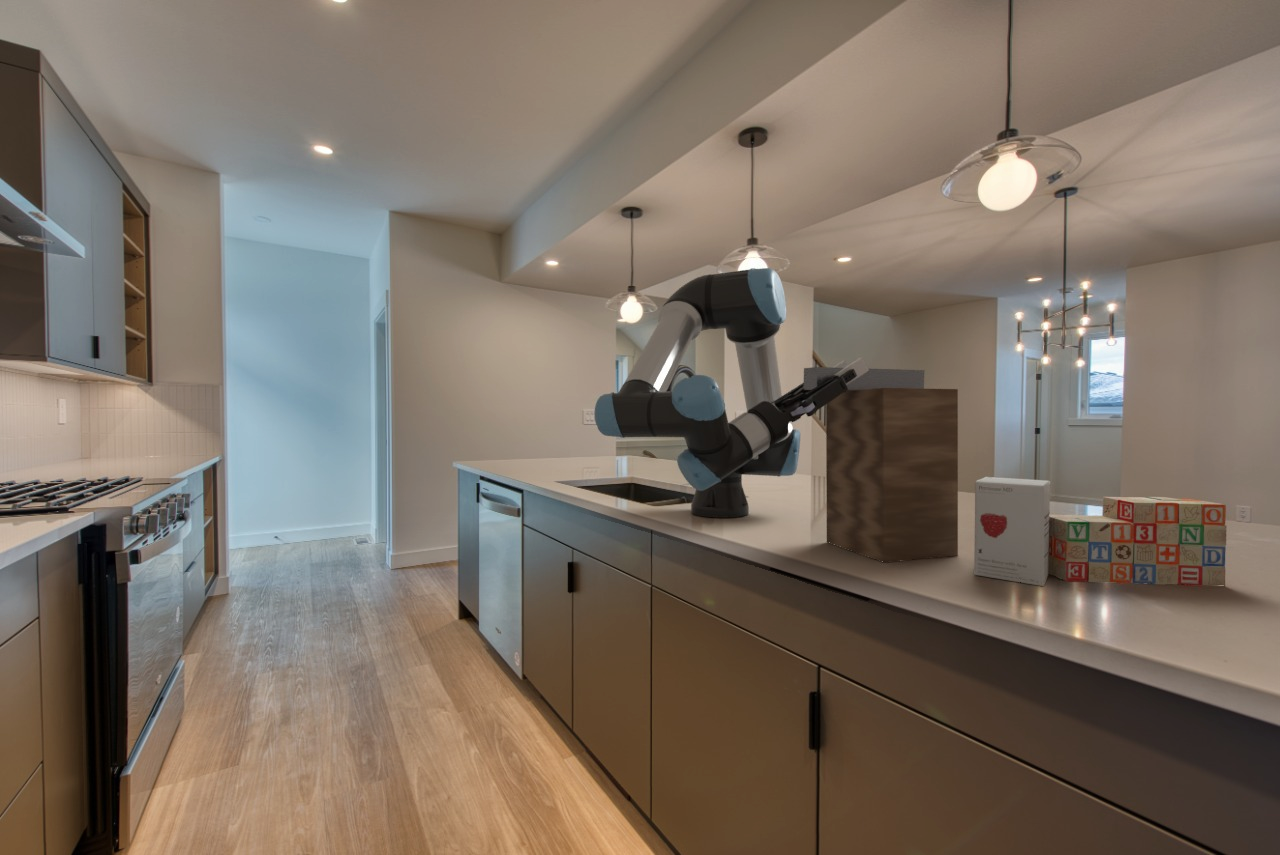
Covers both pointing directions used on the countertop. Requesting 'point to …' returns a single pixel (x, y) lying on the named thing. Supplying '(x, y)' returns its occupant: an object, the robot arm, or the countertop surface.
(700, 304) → the robot arm
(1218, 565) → the stack of blocks
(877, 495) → the brown wooden tall block
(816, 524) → the countertop surface
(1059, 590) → the countertop surface
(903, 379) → the gray block
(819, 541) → the countertop surface
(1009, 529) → the supplement box
